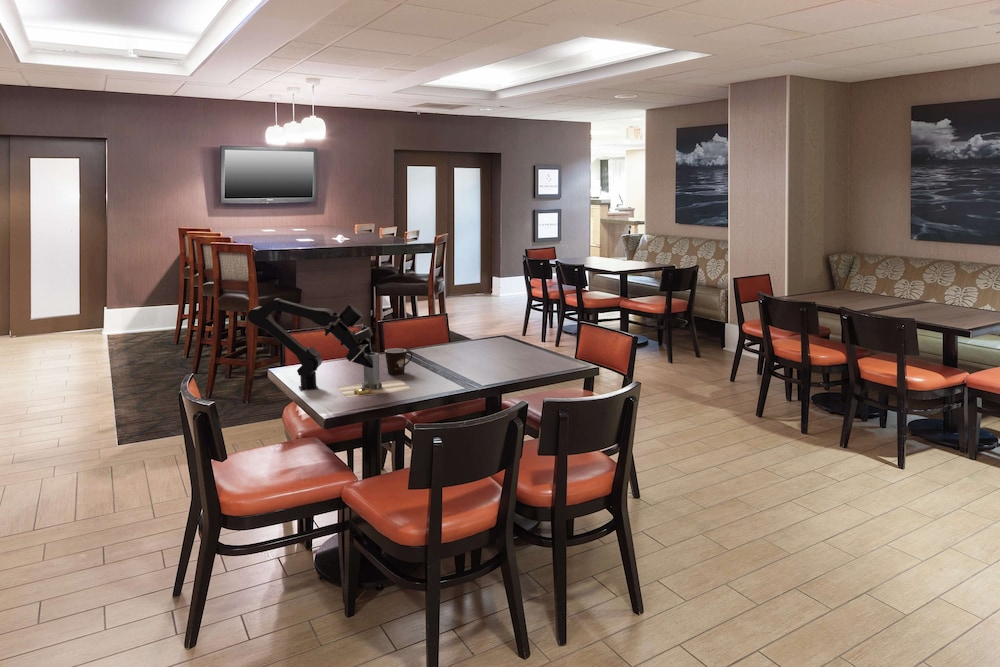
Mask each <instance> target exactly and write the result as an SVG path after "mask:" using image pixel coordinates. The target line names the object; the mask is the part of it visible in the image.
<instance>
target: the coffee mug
mask: <svg viewBox="0 0 1000 667" xmlns="http://www.w3.org/2000/svg"><path fill="white" fill-rule="evenodd" d="M407 354H410V358H409V359H408V360H407V362H406V358H407ZM384 356H385V360H386V361H385V362H386V369H387V374H388V375H389V376H401V375H404V374H405V371H406V370H405V367H406V366H407V365H408V363H410V362H411V360H412V359H413V353H412V352H411V351H407V349H406V348H388V349H385V350H384Z"/></svg>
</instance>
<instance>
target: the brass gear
mask: <svg viewBox="0 0 1000 667" xmlns="http://www.w3.org/2000/svg"><path fill="white" fill-rule="evenodd" d="M371 393H372V388H371V389H369V388H368V387H366V388H364V387H363V388H362V387H361V388H358V389H355V390H354V394H357V395H364V396H368V395H367V394H371Z"/></svg>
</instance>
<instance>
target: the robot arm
mask: <svg viewBox="0 0 1000 667" xmlns="http://www.w3.org/2000/svg"><path fill="white" fill-rule="evenodd" d="M276 311H280V312H283V313H285V314H290V315H293V316H297V317H302V318H305V319H308V320H310V321H311V322H312V323H313V324H316V325H319V326H321V327H324V336H326V337H327V336H329V335H330V334H331V335H332V336H333V337H335V339H336V340H337V341H339V343H340V344H339V345H340V346H341V347H342V346H343V347H344V348H346V349H347V350H348V351H347V354H346V356H345V357H346V360H347V361H348V362H351V363H354V364H358V365H361V366H363V367H364V366H366V367H369V368H373V365H372V363H371V362H370V361H369V360H368V358H367V357H366V356H365V353H369V352H373V349H372V347H371V346H372V345H371V344H372V342H371V337H373V336H374V333H373V330H372V328H371V327H370V326H369V327H368V326H367V325H365V326H362V327H361V331H359V332H356V331H354V330H353V331H352V330H350V329H349V327H351V328H354V326H355V325H356V324H358V323H359V322H360V320H361V319H362V318H364V315H363V313H362V312H361V310H360V309H358V308H356V307H355V306H353V305H352V304H348V305H347V306H346V307H345V309H344V310H343V311H342V312H336V311H333V310H332V309H331V308H326V307H325V308H324V307H309V306H306V305H303V304H299V303H295V302H293V301H289V300H284V299H282V298H281V297H277V298H274V299H272V300H271V301H269V302H268V303H266V304H265V305H263V306H260V305H259V306H256V307H255V308H252V309H250V310H249V311H248V312H247V320H248V322H249V323H251V324H252V325H254V326H256V327H257V328H259V329H261V330H264V331H267V332H268V334H270V335H271V336H272V337H274V338H275V339H276V341H278V342H279V343H280V344H282V345H283V346H284V347H285V348H286V349H288V351H290V352H291V353H292V354H294V355H295V356H296V358H297V361H299V362H298V363H300V364H301V366H300V367H299V368H298V369H297V370H296V372H297V374H298V376H299V377H300V385H299V386H298V388H299V389H300V391H301V392H303V391H309V390H317V389H319V386H318V385H317V373H316V371H318V368H319V367H320V366H321V365H322V363H323V356H322V355H321V352H320V351H318V350H316V348H315V347H313V346H312V345H311V346H309V347H306V346H304V345H303V344H302V343H300V341H298V340H297V339H296V338H295V337H294V336H293V335H291V334H290V333H289V332H288V331H287V330H285V329H284V328H283V327H282V326H281V325H280V324H278V323H277V322H276V321H275V319H274V317H273V315H272V313H274V312H276ZM337 321H338V322H337ZM329 325H330V326H329ZM327 326H329V327H327Z"/></svg>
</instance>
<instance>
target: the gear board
mask: <svg viewBox="0 0 1000 667" xmlns="http://www.w3.org/2000/svg"><path fill="white" fill-rule="evenodd" d="M381 383H382V388H379V389H378V390H376V389H374V390H372V393H371V394H367V395H366V396H372V395H380V394H390V393H400V392H408V391H413V388H412V387H410V386H409V385H408V384H406V383H405V382H404V381H403V380H401V379H399V380H389V381H388V380H387V381H381ZM361 387H362V383H360V384H359V383H358V384H351V385H341V386H337V388H338V389H339V391H340V392H341V393H342V395H343V396H344V397H345V398H354V397H361V396H364V397H365V395H357V394H354V390H355V389H358V388H361Z"/></svg>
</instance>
